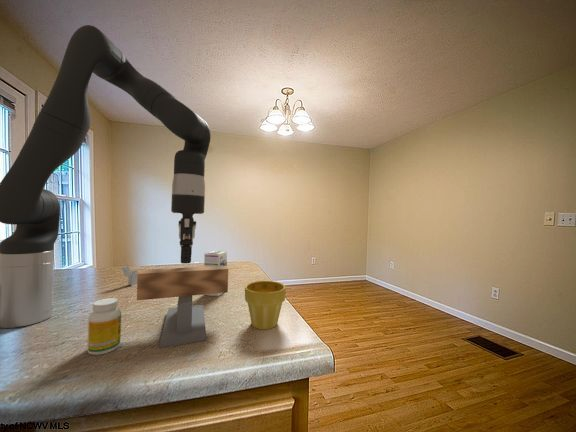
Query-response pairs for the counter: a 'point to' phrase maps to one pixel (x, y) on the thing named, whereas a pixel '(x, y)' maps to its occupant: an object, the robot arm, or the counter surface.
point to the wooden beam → (181, 282)
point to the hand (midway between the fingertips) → (186, 259)
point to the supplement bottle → (104, 327)
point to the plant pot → (264, 302)
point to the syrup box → (215, 262)
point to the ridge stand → (183, 324)
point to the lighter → (130, 275)
